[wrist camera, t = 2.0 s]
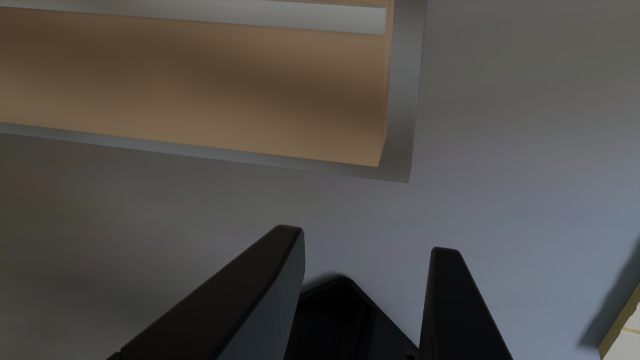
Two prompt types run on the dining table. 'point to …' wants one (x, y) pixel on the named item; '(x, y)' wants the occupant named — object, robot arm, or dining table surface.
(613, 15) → the dining table surface
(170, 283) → the dining table surface
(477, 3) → the dining table surface
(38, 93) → the floor base
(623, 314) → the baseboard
